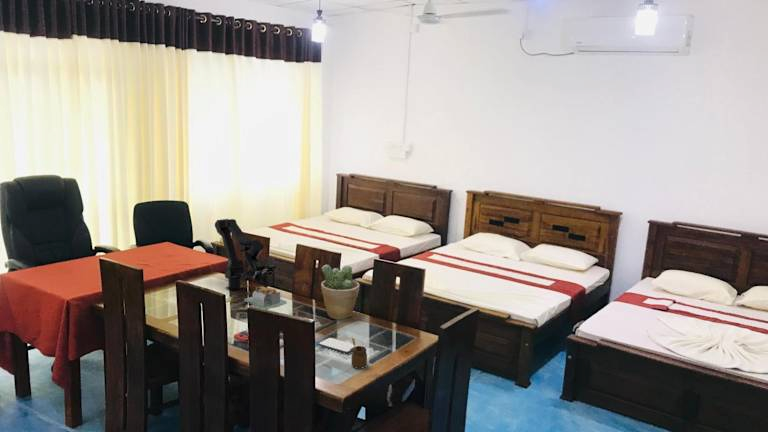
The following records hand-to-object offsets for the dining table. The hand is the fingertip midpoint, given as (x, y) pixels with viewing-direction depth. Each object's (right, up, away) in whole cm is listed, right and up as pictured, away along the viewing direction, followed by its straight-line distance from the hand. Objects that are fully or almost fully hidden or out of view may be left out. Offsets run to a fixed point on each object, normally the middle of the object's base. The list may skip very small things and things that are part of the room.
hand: (266, 287), depth 286 cm
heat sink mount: (-1, -8, +2) cm, 8 cm away
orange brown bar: (0, -2, 0) cm, 3 cm away
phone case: (+40, -19, -49) cm, 66 cm away
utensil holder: (+49, -22, -65) cm, 85 cm away
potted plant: (+38, -12, -12) cm, 41 cm away
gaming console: (+5, -16, -37) cm, 40 cm away
